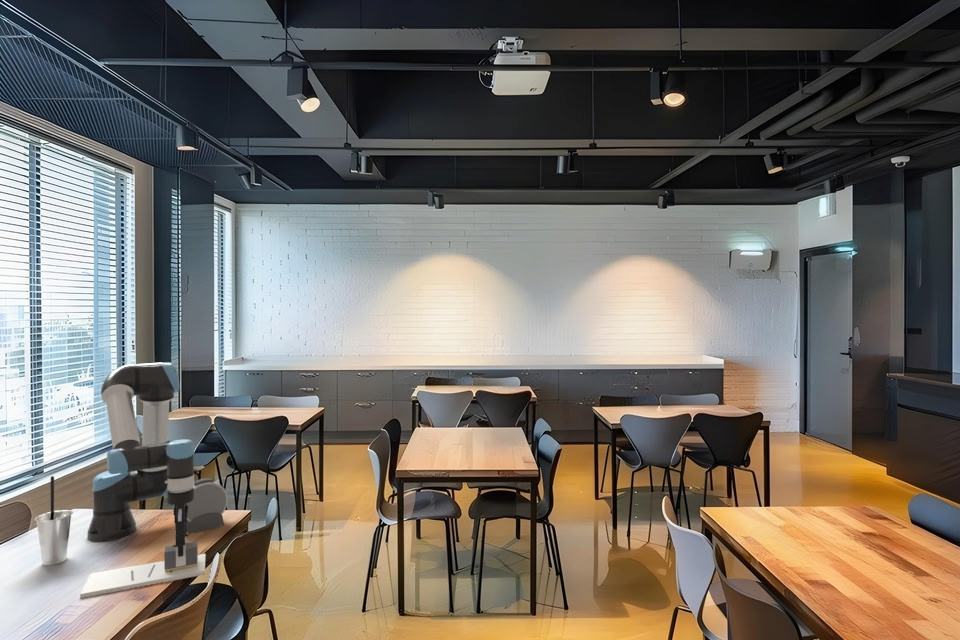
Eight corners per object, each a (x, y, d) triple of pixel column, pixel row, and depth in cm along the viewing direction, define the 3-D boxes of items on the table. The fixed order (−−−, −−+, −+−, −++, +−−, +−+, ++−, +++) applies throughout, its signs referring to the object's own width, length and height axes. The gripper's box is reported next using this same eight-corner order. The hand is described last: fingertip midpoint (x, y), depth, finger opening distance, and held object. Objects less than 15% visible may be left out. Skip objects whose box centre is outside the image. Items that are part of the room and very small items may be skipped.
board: (90, 577, 169) (90, 573, 169) (205, 557, 182) (205, 553, 182) (80, 598, 156) (80, 594, 156) (204, 574, 170) (204, 570, 170)
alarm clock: (222, 517, 219) (221, 472, 219) (230, 524, 212) (230, 477, 212) (177, 528, 208) (177, 480, 208) (184, 535, 201) (184, 486, 201)
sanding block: (165, 565, 174) (165, 546, 174) (197, 559, 177) (197, 541, 177) (164, 571, 169) (164, 552, 169) (197, 565, 173) (196, 546, 173)
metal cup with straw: (53, 570, 174) (52, 477, 173) (24, 567, 176) (23, 475, 176) (84, 556, 184) (83, 467, 184) (56, 553, 186) (55, 466, 186)
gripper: (169, 483, 180) (170, 553, 180) (164, 499, 163) (165, 576, 163) (195, 480, 183) (195, 549, 183) (192, 495, 167) (193, 571, 167)
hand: (181, 561), depth 173 cm, fingers closed on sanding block, 5 cm apart
